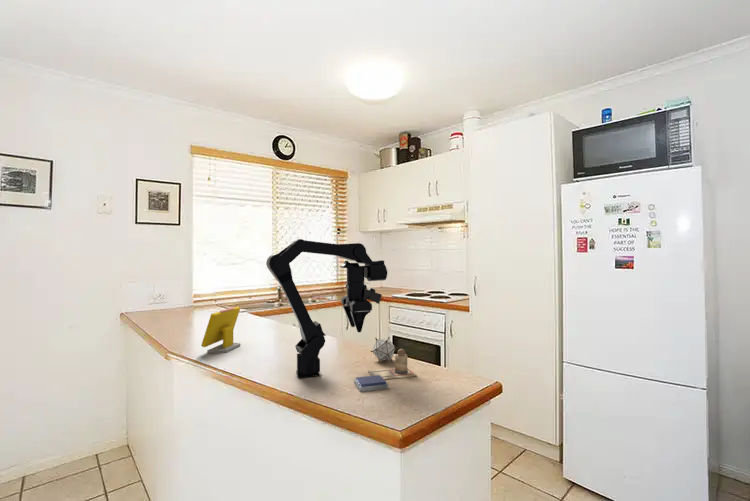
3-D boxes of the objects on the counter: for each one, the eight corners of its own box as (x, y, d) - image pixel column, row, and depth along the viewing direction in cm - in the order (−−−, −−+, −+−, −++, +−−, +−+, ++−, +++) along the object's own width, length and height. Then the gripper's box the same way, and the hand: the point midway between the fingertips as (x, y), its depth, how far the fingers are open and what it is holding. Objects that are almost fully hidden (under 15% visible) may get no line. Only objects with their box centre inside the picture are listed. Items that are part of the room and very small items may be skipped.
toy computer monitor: (228, 342, 164) (228, 305, 164) (246, 343, 163) (245, 305, 163) (201, 355, 144) (200, 312, 144) (220, 355, 143) (220, 313, 143)
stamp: (392, 370, 121) (393, 347, 121) (404, 369, 122) (405, 346, 122) (397, 374, 117) (397, 351, 117) (409, 373, 119) (409, 350, 119)
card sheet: (375, 380, 113) (375, 379, 113) (367, 371, 122) (367, 370, 122) (416, 376, 117) (416, 375, 117) (406, 367, 125) (406, 366, 125)
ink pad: (359, 391, 104) (359, 385, 104) (354, 383, 111) (354, 377, 111) (388, 388, 106) (388, 382, 106) (380, 380, 113) (380, 374, 113)
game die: (388, 373, 132) (394, 354, 127) (365, 363, 134) (370, 343, 128) (396, 354, 139) (402, 336, 134) (374, 345, 141) (379, 326, 135)
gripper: (387, 283, 119) (388, 333, 119) (371, 279, 137) (372, 323, 137) (352, 284, 116) (353, 336, 116) (340, 280, 134) (341, 325, 134)
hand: (356, 329), depth 126 cm, fingers open, 9 cm apart
